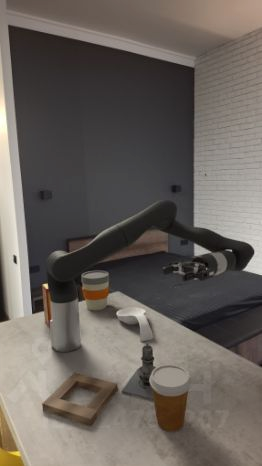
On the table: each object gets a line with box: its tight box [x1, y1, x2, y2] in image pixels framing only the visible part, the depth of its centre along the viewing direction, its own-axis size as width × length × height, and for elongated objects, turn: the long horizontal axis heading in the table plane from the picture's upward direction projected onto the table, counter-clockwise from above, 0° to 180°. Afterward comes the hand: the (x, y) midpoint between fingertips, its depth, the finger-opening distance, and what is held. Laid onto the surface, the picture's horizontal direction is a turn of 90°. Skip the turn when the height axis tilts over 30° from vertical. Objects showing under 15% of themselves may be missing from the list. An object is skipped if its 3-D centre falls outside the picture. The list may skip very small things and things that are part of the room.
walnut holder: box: [42, 371, 119, 427], centre depth 84 cm, size 14×14×2 cm
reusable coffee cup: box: [80, 270, 110, 311], centre depth 144 cm, size 13×13×15 cm
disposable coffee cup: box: [149, 364, 192, 433], centre depth 75 cm, size 10×10×12 cm
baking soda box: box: [41, 283, 52, 328], centre depth 130 cm, size 10×6×16 cm
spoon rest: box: [116, 307, 154, 342], centre depth 124 cm, size 24×12×7 cm, turn 19°
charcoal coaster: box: [121, 368, 154, 402], centre depth 89 cm, size 11×11×1 cm
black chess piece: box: [136, 342, 157, 389], centre depth 88 cm, size 6×6×12 cm
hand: (173, 274), depth 96 cm, fingers open, 8 cm apart
